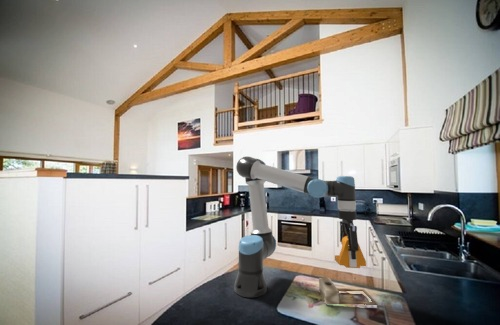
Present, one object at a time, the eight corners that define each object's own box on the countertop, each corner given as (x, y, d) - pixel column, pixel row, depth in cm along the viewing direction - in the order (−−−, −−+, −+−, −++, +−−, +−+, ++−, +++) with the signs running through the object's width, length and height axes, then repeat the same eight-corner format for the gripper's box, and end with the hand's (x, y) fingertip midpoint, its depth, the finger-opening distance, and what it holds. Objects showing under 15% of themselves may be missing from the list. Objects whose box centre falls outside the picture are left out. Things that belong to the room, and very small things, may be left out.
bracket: (358, 262, 93) (357, 235, 95) (366, 268, 86) (364, 238, 88) (334, 261, 94) (333, 234, 96) (340, 267, 87) (338, 238, 88)
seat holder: (326, 306, 83) (325, 289, 84) (319, 291, 95) (318, 277, 96) (378, 309, 82) (377, 292, 82) (364, 293, 94) (363, 279, 94)
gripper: (366, 213, 83) (369, 273, 80) (347, 208, 103) (349, 256, 100) (346, 212, 83) (349, 272, 81) (331, 208, 103) (333, 255, 100)
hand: (349, 263), depth 90 cm, fingers closed on bracket, 7 cm apart
